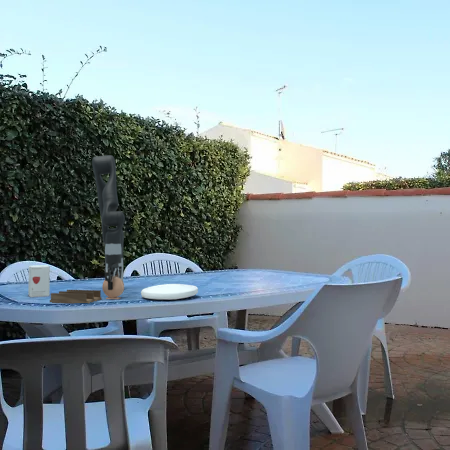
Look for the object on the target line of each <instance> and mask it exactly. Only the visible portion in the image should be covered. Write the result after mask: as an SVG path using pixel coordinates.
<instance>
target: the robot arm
mask: <svg viewBox="0 0 450 450" xmlns="http://www.w3.org/2000/svg"><path fill="white" fill-rule="evenodd" d="M91 164H92V171H93V175H94V179H95V184H96V190H97V191H96V193H97V202H98V207H99V212H100V214H99V215H100V219H101V221H100V222H101V232H102V242H103V244H104V246H105V247H104V263H105V268H104V270H103V271H104V280H105V281H107V282H108V290H113V278H114V277H115V276H117V277H119V278H121V279H122V281H123V282H124V240H125V236H124V235H125V232H124V231H123V228H124V227H123V226H124V223H125V220H126V219H125V213H123V211H117V210H118V207H119V199H118V193H117V191H118V189H117V167H116V159H115V157H114V156H113V155H110V154H109V155H108V154H107V155H100V156H98V155H96V156H93V158H92V161H91ZM102 175H109V178H108V180H107V182H105V181H104V179H103V177H102ZM110 227H115V228H110Z"/></svg>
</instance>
